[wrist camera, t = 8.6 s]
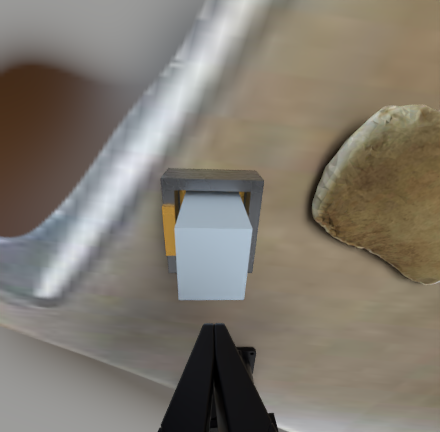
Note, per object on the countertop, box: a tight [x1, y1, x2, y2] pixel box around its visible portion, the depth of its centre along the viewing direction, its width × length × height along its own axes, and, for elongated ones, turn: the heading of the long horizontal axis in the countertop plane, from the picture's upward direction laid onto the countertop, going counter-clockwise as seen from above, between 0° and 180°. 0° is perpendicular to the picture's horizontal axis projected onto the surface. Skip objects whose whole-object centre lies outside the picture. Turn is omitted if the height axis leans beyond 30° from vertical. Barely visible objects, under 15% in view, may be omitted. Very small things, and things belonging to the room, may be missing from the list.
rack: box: [161, 168, 264, 273], centre depth 17 cm, size 8×7×3 cm
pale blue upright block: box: [174, 190, 253, 300], centre depth 15 cm, size 5×4×6 cm
